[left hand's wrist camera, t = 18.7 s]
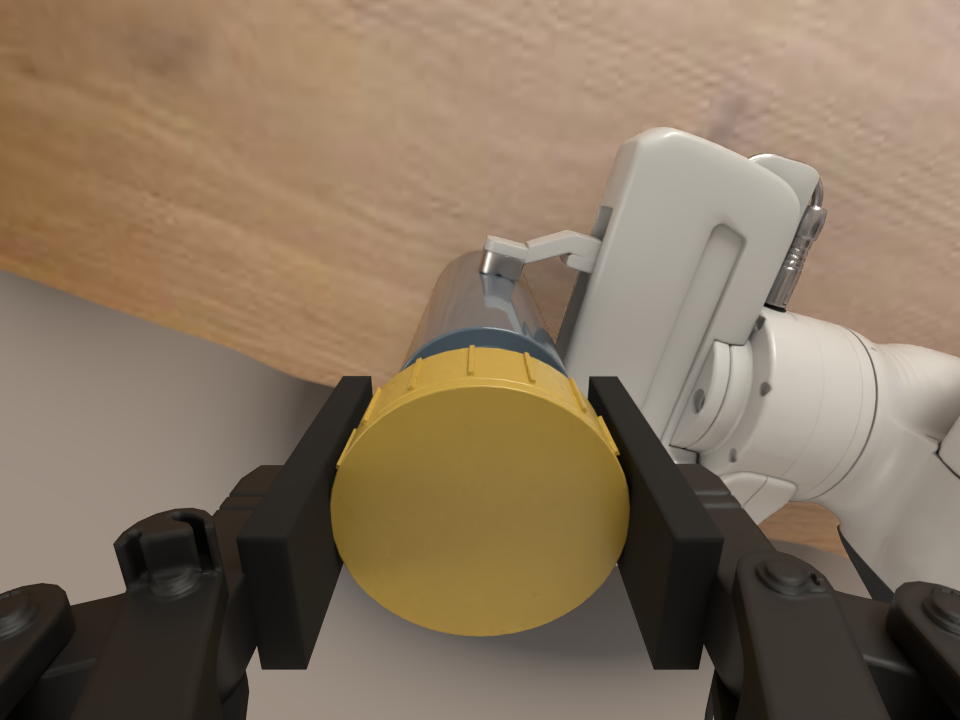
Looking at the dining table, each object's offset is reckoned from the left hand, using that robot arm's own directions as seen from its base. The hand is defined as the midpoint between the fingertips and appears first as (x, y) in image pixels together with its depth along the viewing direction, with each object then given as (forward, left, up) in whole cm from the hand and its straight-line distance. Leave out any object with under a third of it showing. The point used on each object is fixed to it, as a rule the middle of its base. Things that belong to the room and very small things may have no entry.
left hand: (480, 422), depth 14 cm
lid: (0, 0, +4) cm, 4 cm away
